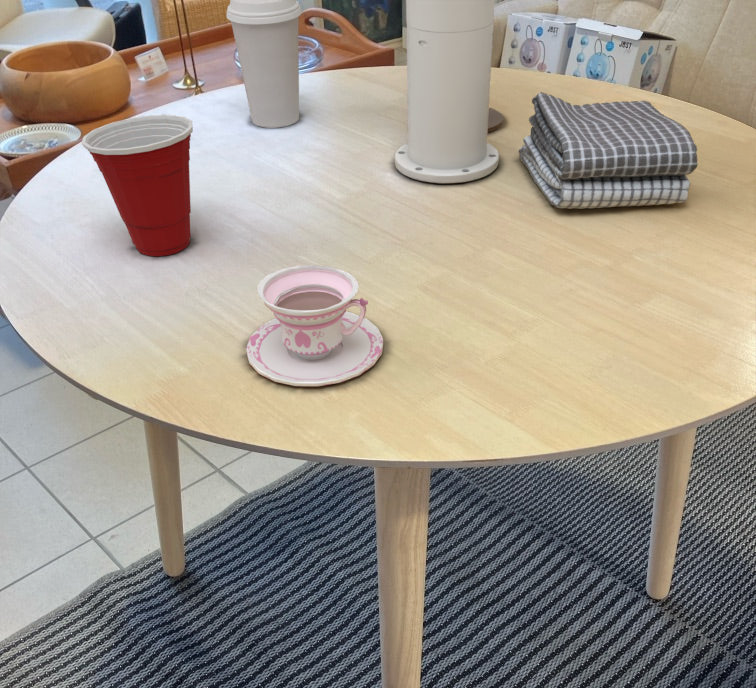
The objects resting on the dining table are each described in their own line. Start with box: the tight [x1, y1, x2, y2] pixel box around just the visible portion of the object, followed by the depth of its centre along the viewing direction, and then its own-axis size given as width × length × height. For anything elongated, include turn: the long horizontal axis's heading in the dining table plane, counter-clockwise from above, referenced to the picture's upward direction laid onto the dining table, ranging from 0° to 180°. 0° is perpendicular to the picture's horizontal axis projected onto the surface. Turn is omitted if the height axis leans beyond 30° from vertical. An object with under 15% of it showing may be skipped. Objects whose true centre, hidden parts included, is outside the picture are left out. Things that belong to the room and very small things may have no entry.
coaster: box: [487, 107, 504, 134], centre depth 114 cm, size 10×10×1 cm
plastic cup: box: [81, 114, 194, 257], centre depth 87 cm, size 11×11×12 cm
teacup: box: [245, 264, 384, 387], centre depth 73 cm, size 12×12×6 cm
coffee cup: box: [225, 0, 303, 129], centre depth 112 cm, size 10×10×15 cm
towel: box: [518, 91, 699, 210], centre depth 96 cm, size 15×18×8 cm
